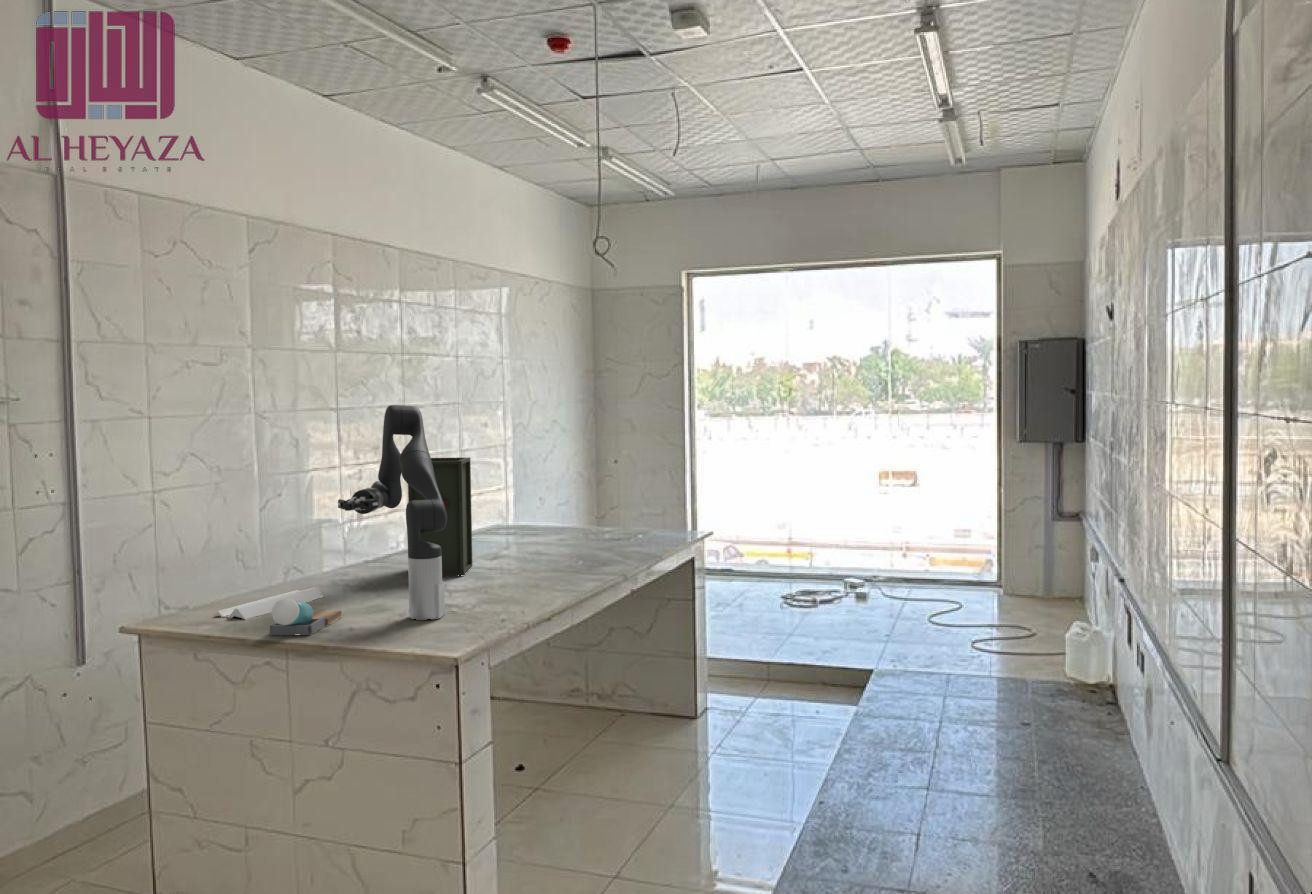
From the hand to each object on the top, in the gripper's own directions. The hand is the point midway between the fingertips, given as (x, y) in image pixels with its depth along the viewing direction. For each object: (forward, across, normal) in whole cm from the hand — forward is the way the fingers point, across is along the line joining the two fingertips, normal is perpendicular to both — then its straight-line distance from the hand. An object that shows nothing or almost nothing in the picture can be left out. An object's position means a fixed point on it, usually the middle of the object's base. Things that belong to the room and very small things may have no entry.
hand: (347, 507), depth 279 cm
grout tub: (+24, -4, +26) cm, 36 cm away
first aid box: (-57, +12, +30) cm, 66 cm away
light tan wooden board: (+17, -4, +30) cm, 35 cm away
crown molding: (-1, -24, +31) cm, 39 cm away
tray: (+27, -4, +30) cm, 41 cm away
